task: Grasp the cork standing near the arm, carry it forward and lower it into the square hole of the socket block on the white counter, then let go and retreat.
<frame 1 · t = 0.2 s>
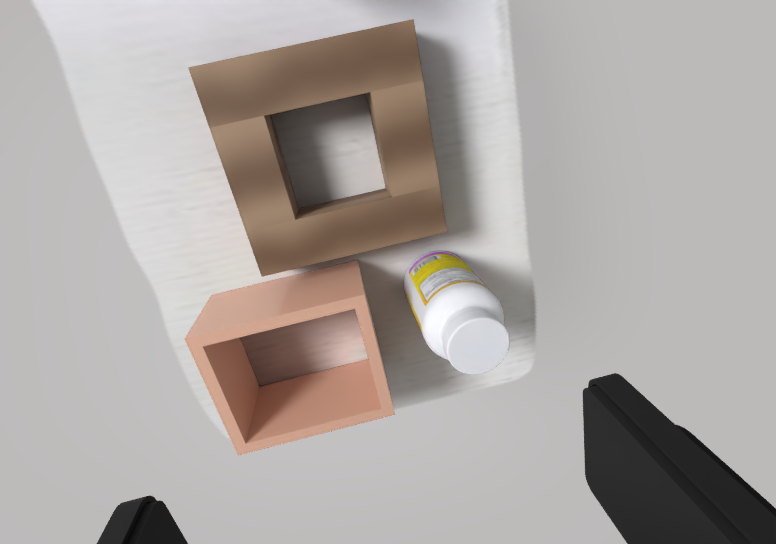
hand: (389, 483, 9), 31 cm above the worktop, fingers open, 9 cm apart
supplement bottle: (435, 279, 42), on the worktop
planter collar: (302, 331, 42), on the worktop
socket block: (330, 153, 36), on the worktop
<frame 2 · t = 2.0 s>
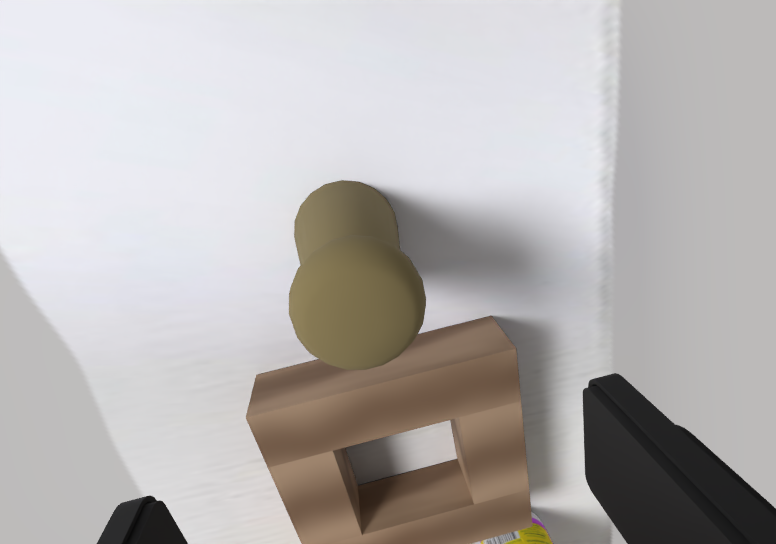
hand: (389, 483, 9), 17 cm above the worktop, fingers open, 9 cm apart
supplement bottle: (504, 528, 37), on the worktop
socket block: (398, 434, 31), on the worktop
cork: (346, 231, 25), on the worktop
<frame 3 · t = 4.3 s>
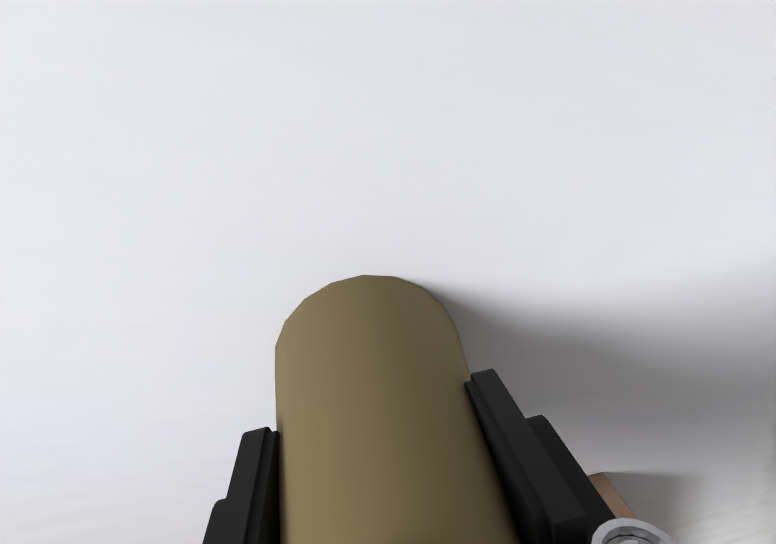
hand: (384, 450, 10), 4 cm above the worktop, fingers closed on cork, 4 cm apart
cork: (368, 357, 14), on the worktop, touching gripper
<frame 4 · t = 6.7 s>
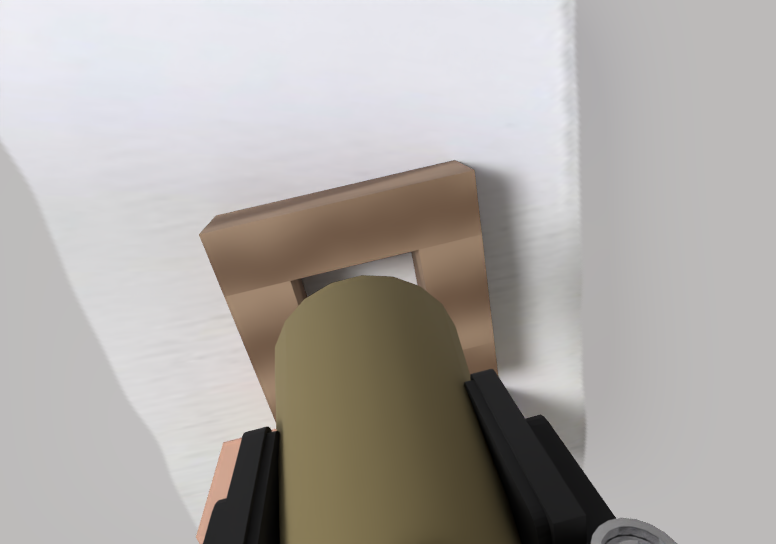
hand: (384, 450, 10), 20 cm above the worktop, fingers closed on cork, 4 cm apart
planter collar: (326, 472, 37), on the worktop
socket block: (363, 294, 31), on the worktop
cork: (368, 357, 14), point 16 cm above the worktop, touching gripper
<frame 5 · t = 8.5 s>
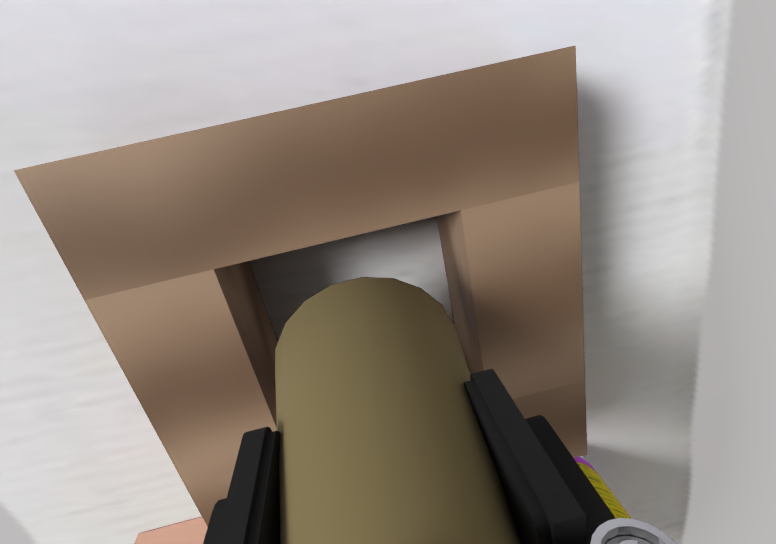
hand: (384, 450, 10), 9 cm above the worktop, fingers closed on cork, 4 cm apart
supplement bottle: (531, 479, 24), on the worktop
socket block: (359, 297, 18), on the worktop
cork: (369, 359, 14), point 5 cm above the worktop, touching gripper
when the fingers open (5 cm above the worktop, at t = 9.6 s): cork drops 1 cm, resting in socket block.
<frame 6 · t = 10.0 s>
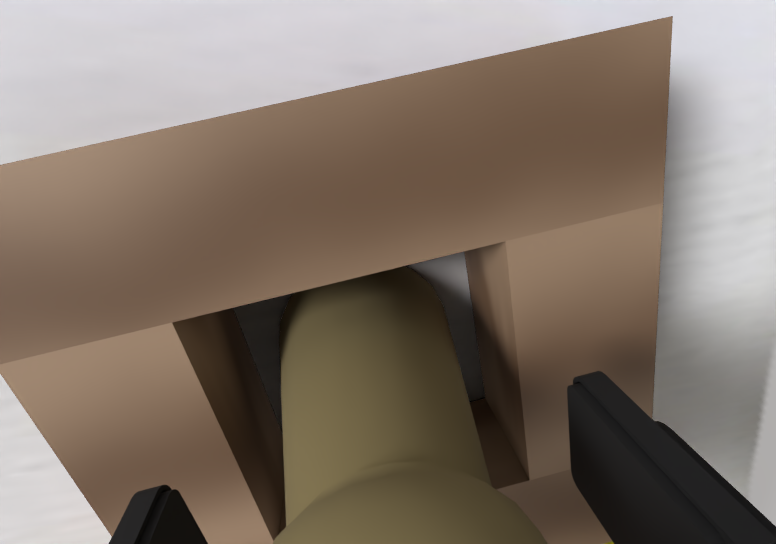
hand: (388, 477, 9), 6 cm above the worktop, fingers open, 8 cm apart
socket block: (365, 338, 15), on the worktop
cork: (364, 334, 15), resting in socket block
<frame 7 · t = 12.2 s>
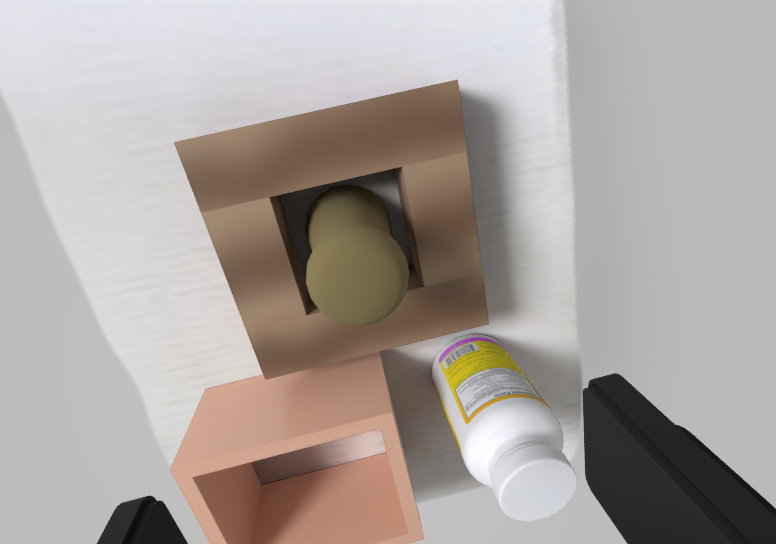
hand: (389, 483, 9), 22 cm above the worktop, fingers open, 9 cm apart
supplement bottle: (467, 363, 36), on the worktop
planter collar: (312, 425, 36), on the worktop
socket block: (348, 228, 30), on the worktop
cork: (348, 226, 30), resting in socket block
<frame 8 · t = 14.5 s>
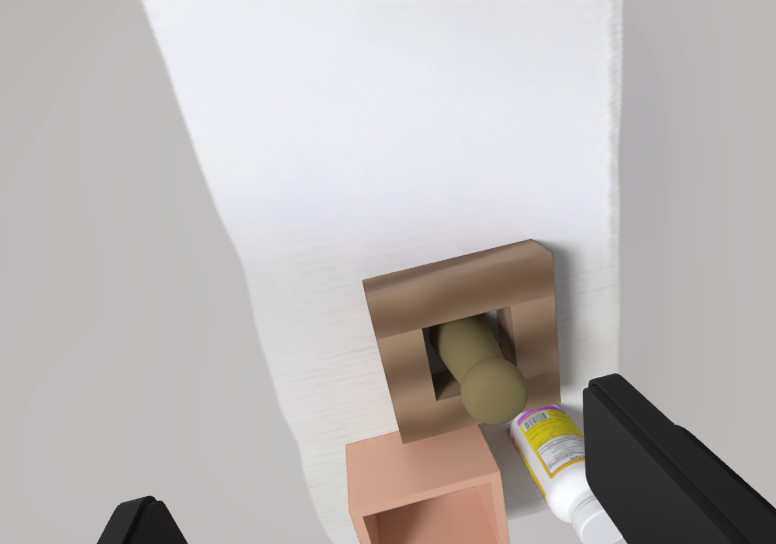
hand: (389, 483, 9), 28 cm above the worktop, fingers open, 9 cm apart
supplement bottle: (535, 422, 47), on the worktop
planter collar: (418, 468, 47), on the worktop
socket block: (459, 333, 41), on the worktop
cork: (458, 331, 42), resting in socket block
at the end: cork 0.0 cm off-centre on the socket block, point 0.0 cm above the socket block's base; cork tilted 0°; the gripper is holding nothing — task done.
